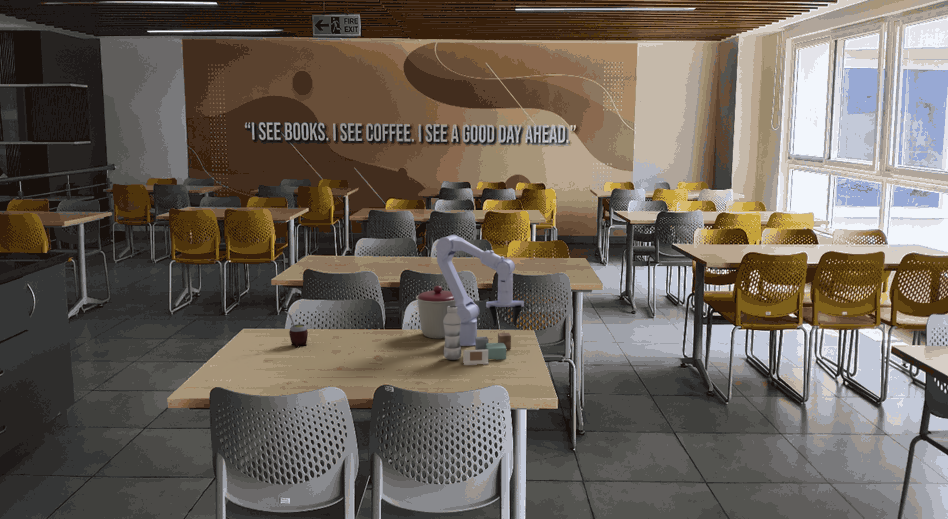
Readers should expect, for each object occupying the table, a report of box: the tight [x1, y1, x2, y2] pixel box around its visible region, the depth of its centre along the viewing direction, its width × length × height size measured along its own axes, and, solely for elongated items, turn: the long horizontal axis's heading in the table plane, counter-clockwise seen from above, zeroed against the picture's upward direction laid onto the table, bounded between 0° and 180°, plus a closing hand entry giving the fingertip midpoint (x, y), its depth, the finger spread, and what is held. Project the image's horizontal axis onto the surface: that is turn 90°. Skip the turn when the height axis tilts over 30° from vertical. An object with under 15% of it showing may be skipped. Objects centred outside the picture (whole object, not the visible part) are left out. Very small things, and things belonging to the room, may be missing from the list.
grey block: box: [474, 336, 489, 350], centre depth 273 cm, size 4×4×6 cm
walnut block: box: [497, 332, 512, 351], centre depth 278 cm, size 4×4×6 cm
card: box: [462, 349, 489, 366], centre depth 259 cm, size 9×3×5 cm, turn 97°
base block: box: [486, 342, 507, 360], centre depth 267 cm, size 7×7×4 cm
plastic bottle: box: [443, 306, 463, 361], centre depth 263 cm, size 6×7×20 cm
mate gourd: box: [284, 310, 309, 349], centre depth 280 cm, size 8×8×15 cm
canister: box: [415, 285, 456, 339], centre depth 295 cm, size 18×18×21 cm
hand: (504, 324), depth 277 cm, fingers open, 7 cm apart
